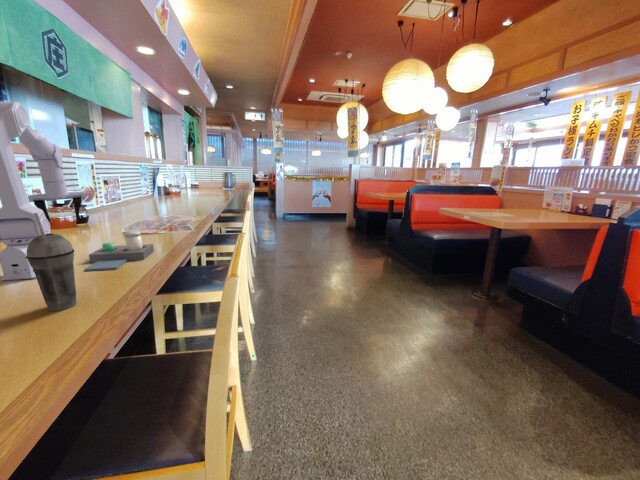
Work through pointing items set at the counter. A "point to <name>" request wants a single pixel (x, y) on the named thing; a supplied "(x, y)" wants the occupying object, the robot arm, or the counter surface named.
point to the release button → (108, 247)
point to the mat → (106, 265)
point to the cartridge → (133, 240)
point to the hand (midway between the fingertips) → (63, 220)
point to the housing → (121, 253)
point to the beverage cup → (53, 268)
